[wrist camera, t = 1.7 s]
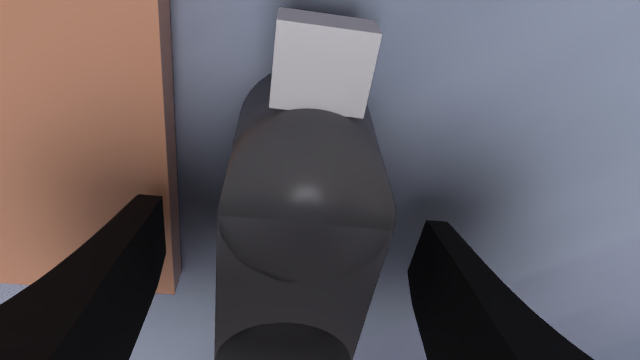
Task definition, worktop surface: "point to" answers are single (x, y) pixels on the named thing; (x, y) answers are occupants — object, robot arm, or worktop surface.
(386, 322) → the worktop surface
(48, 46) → the terracotta trivet
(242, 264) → the charger plug
